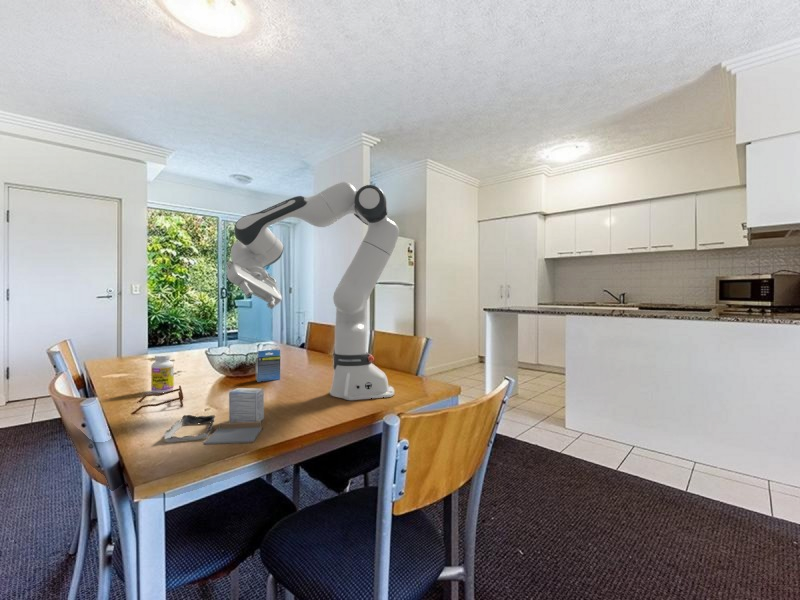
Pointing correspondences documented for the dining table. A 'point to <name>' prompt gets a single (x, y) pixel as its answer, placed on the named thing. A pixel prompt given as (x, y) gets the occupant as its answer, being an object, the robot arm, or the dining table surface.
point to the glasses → (162, 402)
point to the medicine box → (246, 405)
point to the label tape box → (268, 366)
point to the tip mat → (235, 433)
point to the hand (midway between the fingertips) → (260, 300)
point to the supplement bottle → (162, 374)
